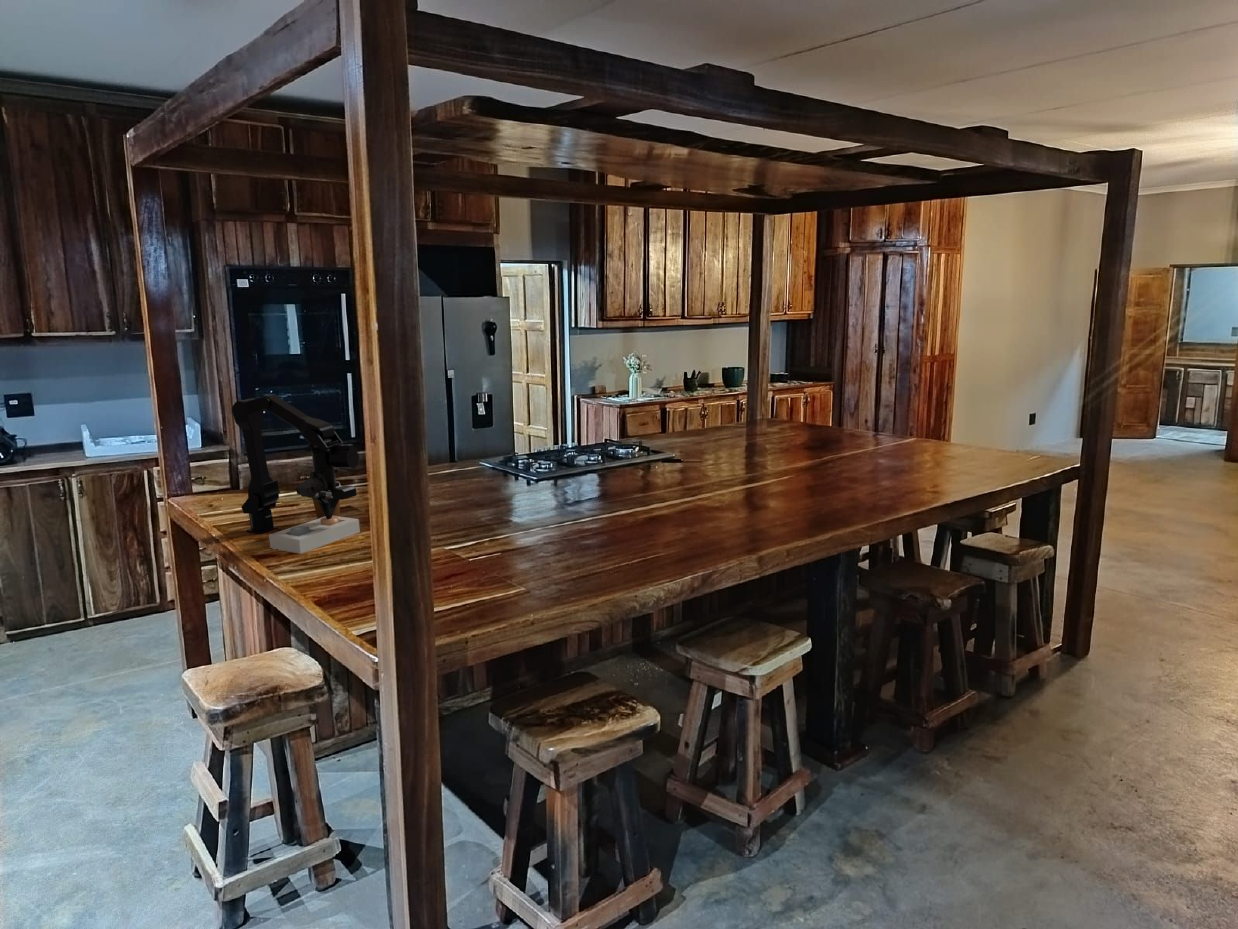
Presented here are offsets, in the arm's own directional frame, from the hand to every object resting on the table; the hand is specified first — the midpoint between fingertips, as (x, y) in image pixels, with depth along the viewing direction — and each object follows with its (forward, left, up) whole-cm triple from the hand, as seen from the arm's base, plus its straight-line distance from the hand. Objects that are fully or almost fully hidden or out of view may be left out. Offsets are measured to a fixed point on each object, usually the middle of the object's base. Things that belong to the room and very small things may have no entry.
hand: (329, 518), depth 245 cm
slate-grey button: (0, -11, -3) cm, 11 cm away
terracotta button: (0, 0, -3) cm, 3 cm away
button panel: (0, -5, -5) cm, 7 cm away
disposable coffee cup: (-12, +11, -5) cm, 17 cm away
